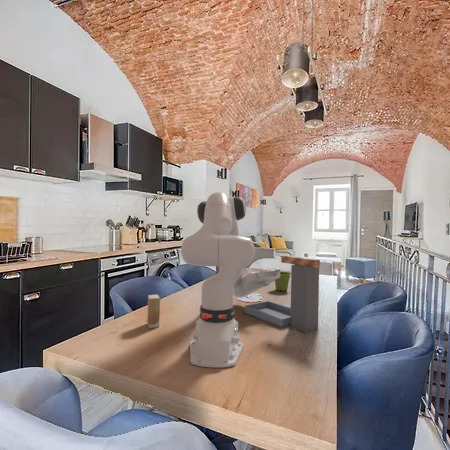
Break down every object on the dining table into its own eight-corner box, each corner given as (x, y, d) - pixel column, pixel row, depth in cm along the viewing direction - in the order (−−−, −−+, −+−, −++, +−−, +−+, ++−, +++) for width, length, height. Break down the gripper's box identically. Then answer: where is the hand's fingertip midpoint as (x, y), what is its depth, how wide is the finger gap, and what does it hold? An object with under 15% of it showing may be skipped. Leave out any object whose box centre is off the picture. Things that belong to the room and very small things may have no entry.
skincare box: (147, 323, 124) (147, 294, 124) (157, 322, 126) (157, 294, 126) (148, 328, 118) (149, 298, 118) (159, 327, 120) (160, 297, 120)
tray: (244, 312, 141) (244, 305, 141) (268, 307, 151) (268, 300, 151) (282, 327, 122) (282, 319, 122) (306, 320, 131) (306, 312, 131)
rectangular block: (281, 262, 131) (281, 255, 131) (285, 261, 133) (285, 255, 133) (315, 267, 117) (315, 260, 117) (319, 267, 118) (319, 259, 118)
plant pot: (271, 291, 187) (271, 273, 187) (274, 287, 198) (274, 270, 198) (289, 293, 183) (290, 275, 183) (291, 289, 194) (292, 272, 194)
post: (290, 326, 123) (291, 265, 123) (302, 322, 128) (303, 263, 128) (305, 332, 117) (307, 267, 117) (318, 328, 122) (319, 266, 122)
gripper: (236, 277, 142) (253, 266, 132) (266, 273, 154) (284, 263, 145) (240, 289, 139) (258, 279, 130) (271, 284, 152) (289, 275, 142)
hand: (272, 270), depth 137 cm, fingers open, 8 cm apart
